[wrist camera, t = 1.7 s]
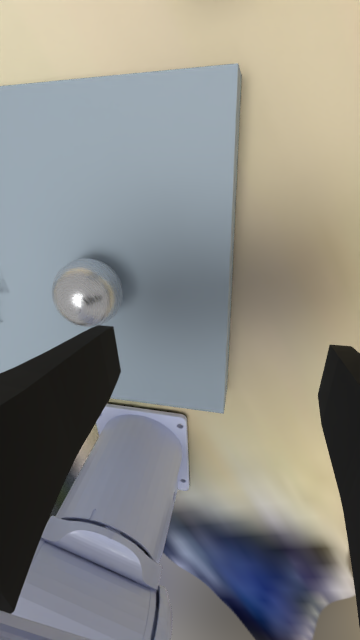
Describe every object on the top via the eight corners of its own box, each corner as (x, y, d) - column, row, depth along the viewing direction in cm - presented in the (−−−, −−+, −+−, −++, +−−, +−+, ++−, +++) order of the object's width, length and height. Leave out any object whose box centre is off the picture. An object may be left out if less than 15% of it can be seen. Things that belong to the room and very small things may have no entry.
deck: (241, 75, 14) (238, 63, 12) (227, 388, 23) (223, 413, 20) (-190, 113, 19) (-245, 109, 17) (-66, 353, 28) (-92, 370, 26)
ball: (135, 309, 18) (111, 343, 15) (80, 305, 19) (46, 337, 16) (128, 250, 16) (99, 274, 13) (68, 248, 17) (27, 271, 14)
